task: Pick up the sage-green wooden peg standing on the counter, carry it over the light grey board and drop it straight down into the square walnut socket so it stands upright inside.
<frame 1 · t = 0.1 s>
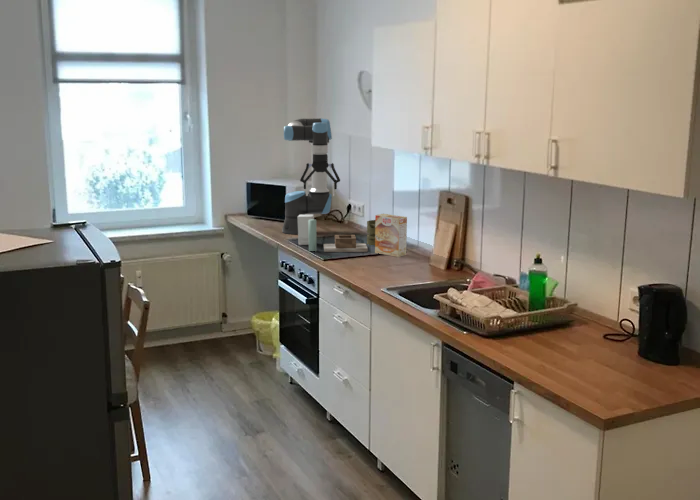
hand: (320, 195, 386), 28 cm above the worktop, tool pointing down, fingers open, 13 cm apart
skincare box: (306, 244, 405), on the worktop
peg: (312, 250, 388), on the worktop
socket board: (345, 249, 393), on the worktop
coffeecake box: (390, 254, 382), on the worktop
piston: (377, 244, 407), on the worktop
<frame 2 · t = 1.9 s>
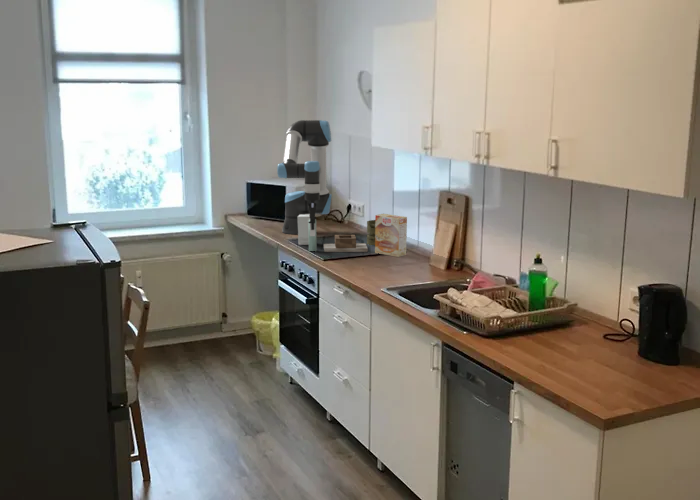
hand: (312, 233, 386), 9 cm above the worktop, tool pointing down, fingers open, 13 cm apart
nothing on the worktop moved.
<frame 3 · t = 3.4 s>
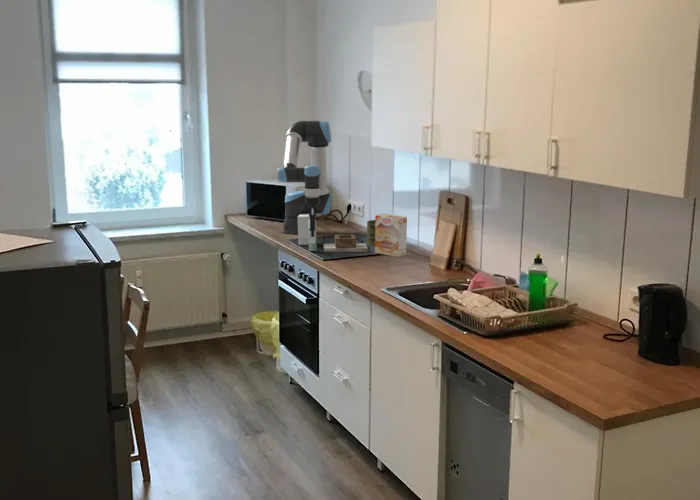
hand: (312, 242, 387), 5 cm above the worktop, tool pointing down, fingers closed on peg, 4 cm apart
peg: (312, 250, 388), on the worktop, touching gripper
everything else where it was.
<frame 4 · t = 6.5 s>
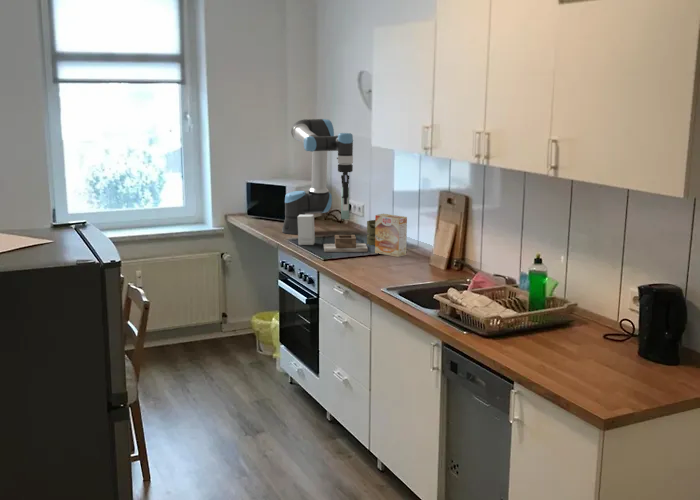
hand: (345, 209, 388), 21 cm above the worktop, tool pointing down, fingers closed on peg, 4 cm apart
peg: (345, 218, 389), point 16 cm above the worktop, touching gripper
everything else where it was.
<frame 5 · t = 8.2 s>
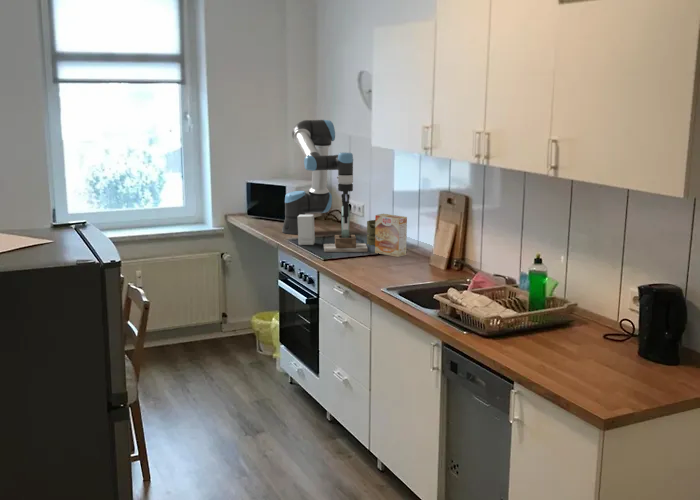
hand: (345, 228, 390), 11 cm above the worktop, tool pointing down, fingers closed on peg, 4 cm apart
peg: (345, 237, 391), point 6 cm above the worktop, touching gripper
everything else where it was.
when the fingers open (8 cm above the worktop, at t = 9.7 s): peg drops 1 cm, resting on socket board.
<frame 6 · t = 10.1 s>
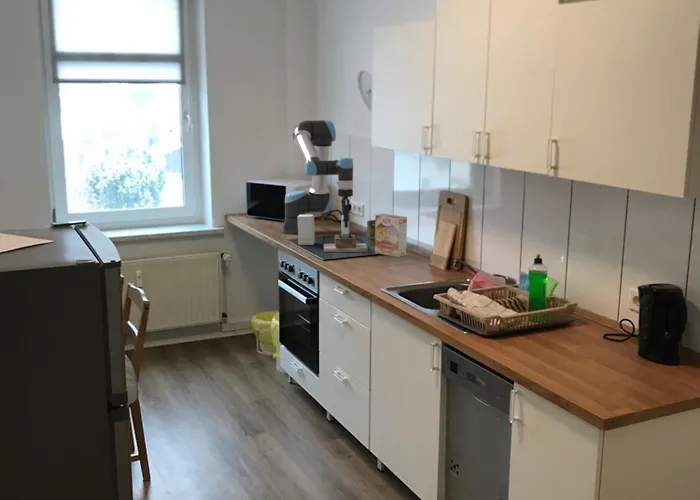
hand: (345, 231, 391), 9 cm above the worktop, tool pointing down, fingers open, 9 cm apart
peg: (345, 246, 393), point 2 cm above the worktop, touching socket board
everything else where it was.
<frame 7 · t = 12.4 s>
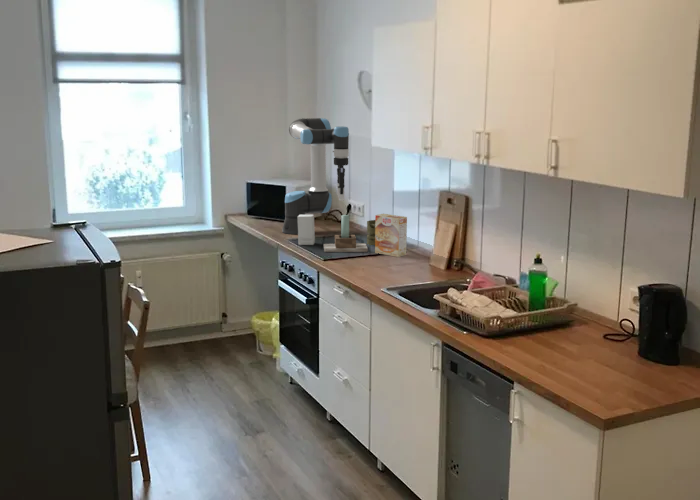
hand: (340, 198, 393), 26 cm above the worktop, tool pointing down, fingers open, 13 cm apart
nothing on the worktop moved.
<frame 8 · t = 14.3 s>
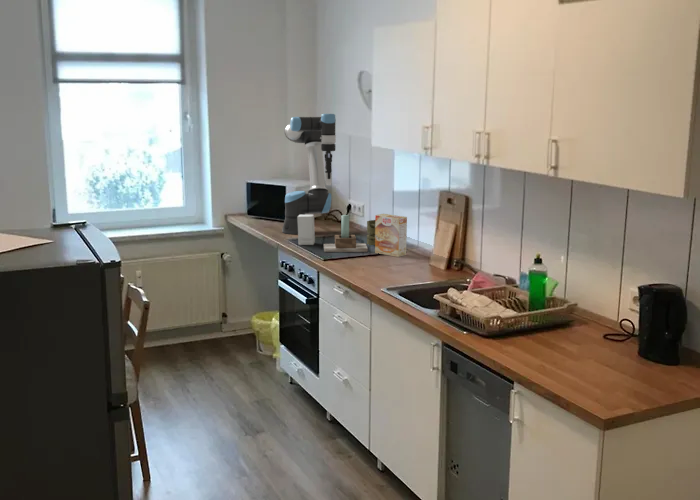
hand: (328, 183, 404), 32 cm above the worktop, tool pointing down, fingers open, 13 cm apart
nothing on the worktop moved.
at the end: peg 0.0 cm off-centre on the socket board, point 1.5 cm above the socket board's base; peg tilted 0°; the gripper is holding nothing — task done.
